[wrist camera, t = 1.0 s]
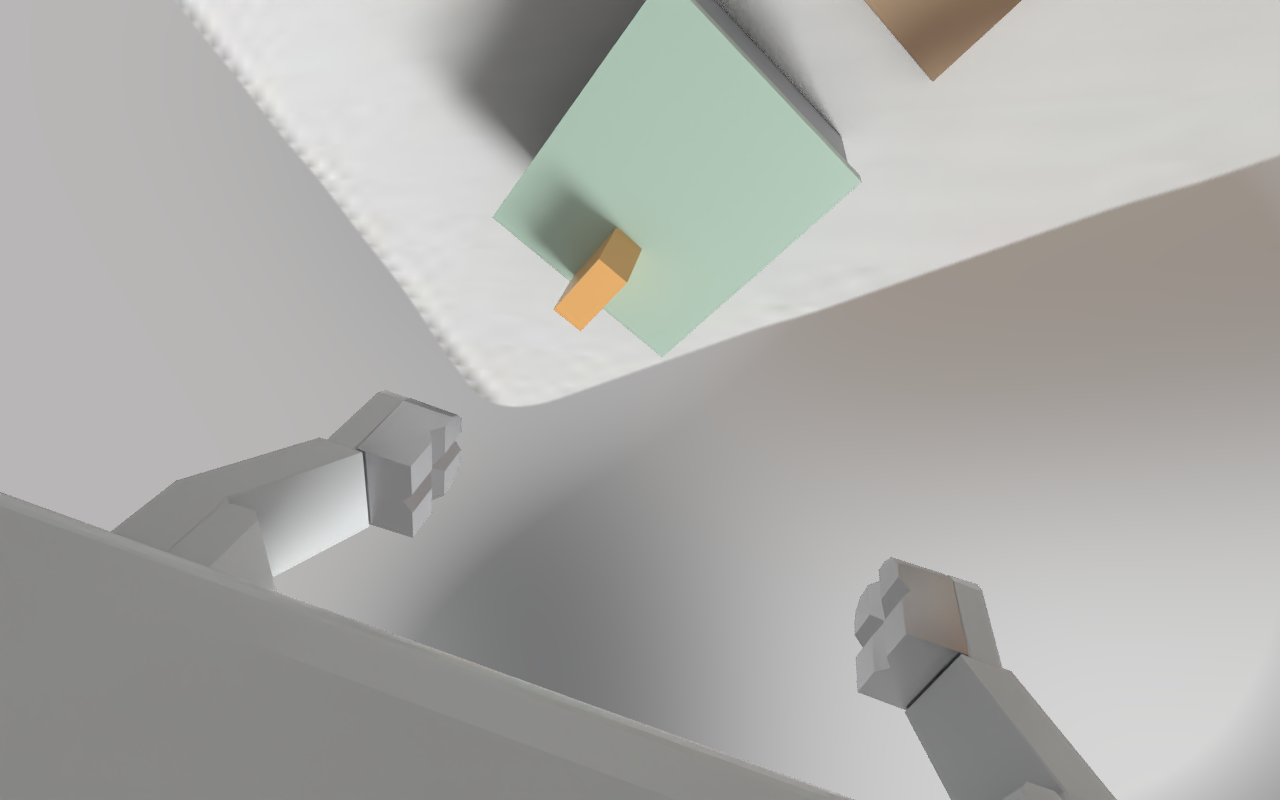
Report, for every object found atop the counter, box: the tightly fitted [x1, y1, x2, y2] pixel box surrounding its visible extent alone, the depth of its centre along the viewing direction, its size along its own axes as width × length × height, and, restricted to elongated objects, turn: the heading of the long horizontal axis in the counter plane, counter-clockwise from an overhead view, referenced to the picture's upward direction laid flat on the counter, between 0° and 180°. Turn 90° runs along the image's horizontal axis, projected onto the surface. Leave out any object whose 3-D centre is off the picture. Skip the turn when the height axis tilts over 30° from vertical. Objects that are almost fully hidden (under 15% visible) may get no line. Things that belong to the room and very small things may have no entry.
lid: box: [492, 0, 861, 357], centre depth 31 cm, size 13×15×6 cm
